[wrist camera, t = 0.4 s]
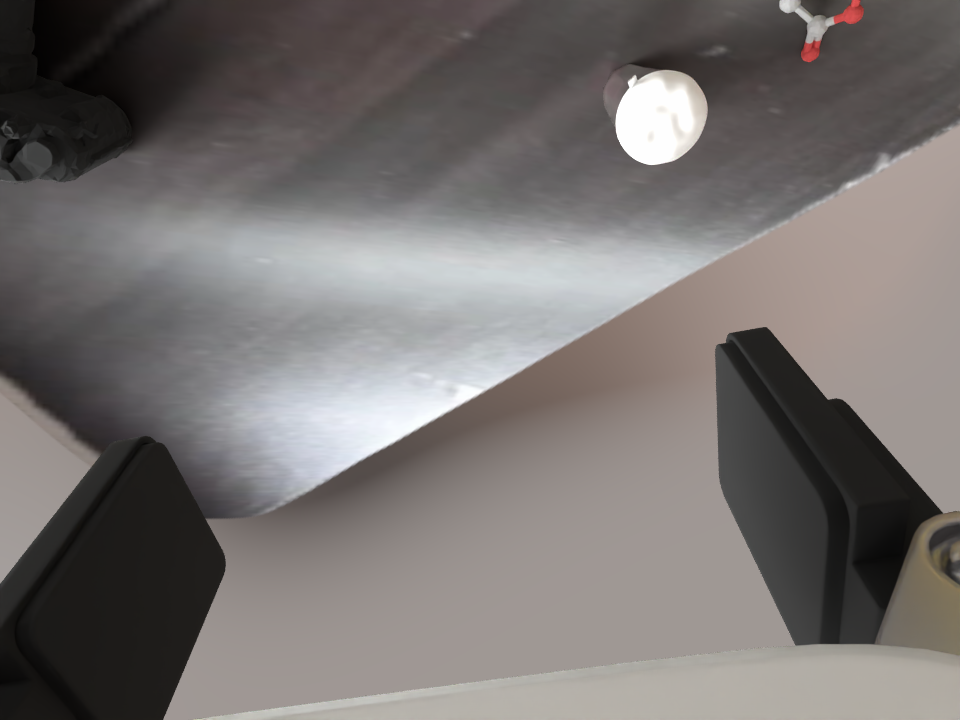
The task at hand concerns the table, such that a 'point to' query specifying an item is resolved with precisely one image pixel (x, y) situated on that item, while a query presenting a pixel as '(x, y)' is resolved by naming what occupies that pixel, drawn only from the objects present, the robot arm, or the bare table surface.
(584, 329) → the table surface
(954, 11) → the table surface
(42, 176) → the film camera
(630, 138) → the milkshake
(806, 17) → the molecular model
